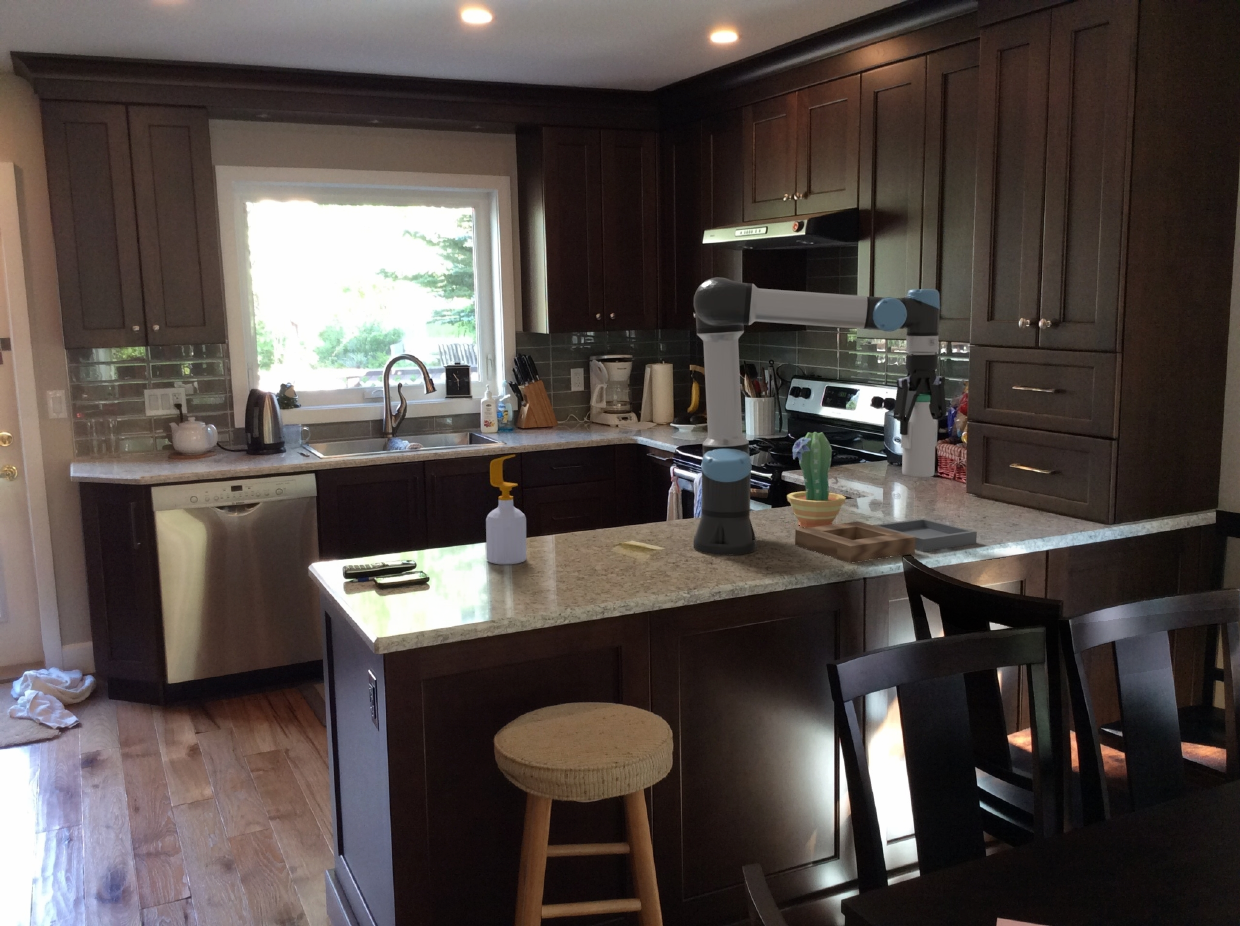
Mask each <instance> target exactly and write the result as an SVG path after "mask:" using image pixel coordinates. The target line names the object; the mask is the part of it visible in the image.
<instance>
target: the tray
mask: <svg viewBox="0 0 1240 926" xmlns="http://www.w3.org/2000/svg"><path fill="white" fill-rule="evenodd" d="M872 525H873V526H877V527H881V528H884V529H888V530H892V531H895V532H899V533H903V534H906V535H910V536H914V537H916V538H915V551H920V552H928V551H934V550H935V551H936V550H941V549H948V548H949V549H950V548H953V547H954V548H955V547H962V546H968V545H975V544H977V538H978V537H977V535H978V531H976V530H972V529H968V528H964V527H960V526H957V525H956V526H955V525H953V524H952V525H951V524H948V523H944V522H940V521H937V520H931V519H927V518H917V519H915V518H914V519H910V520H901V521H893V522H886V523H878V524H872Z"/></svg>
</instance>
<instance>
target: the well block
mask: <svg viewBox="0 0 1240 926" xmlns="http://www.w3.org/2000/svg"><path fill="white" fill-rule="evenodd" d="M873 525H874V524H869V523H865V522H862V521H853V522H852V521H851V522H843V523H835V524H832V525H826V526H818V527H811V528H797V529H794V530H795V532H794V533H795V535H794V537H795V538H794V546H795V545H798V546H799V548H801V547H803V548H802V549H805V548H807V549H806V550H808V549H809V550H808V551H811V550H812V552H814V551H816V552H815V553H817V552H818V554H820V553H822V554H821V555H823V554H824V555H823V556H826V555H827V557H829V556H831V557H830V558H832V557H833V559H835V558H836V560H838V559H840V560H839V561H841V562H842V561H843V562H844V561H845V562H844V563H848V562H849V563H848V564H853V563H852V562H855V563H859V562H858V561H862V562H866V561H865V560H868V561H870V560H869V559H875V560H879V559H878V558H881V559H886V557H888V558H891V557H890V556H895V557H900V556H907V555H913V554H915V553H916V550H915V538H916V537H914V536H910V535H906V534H903V533H899V532H895V531H892V530H888V529H884V528H881V527H877V526H873ZM798 546H797V547H798ZM899 555H900V556H899Z"/></svg>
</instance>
